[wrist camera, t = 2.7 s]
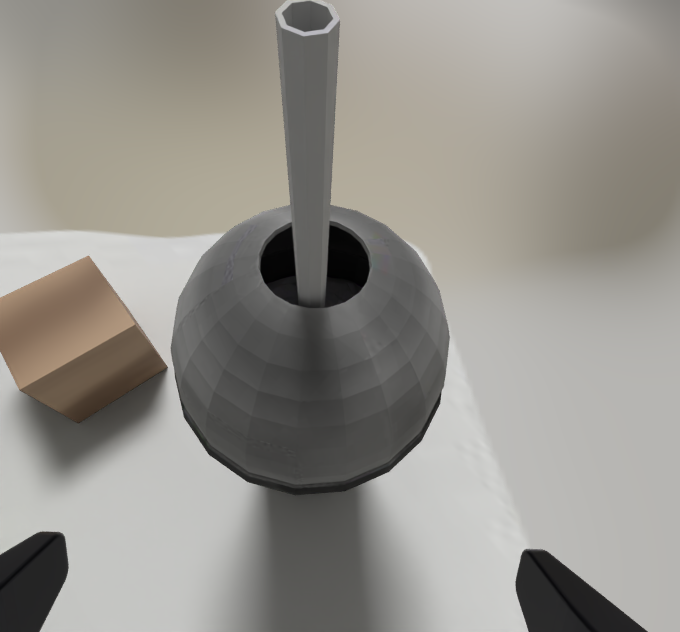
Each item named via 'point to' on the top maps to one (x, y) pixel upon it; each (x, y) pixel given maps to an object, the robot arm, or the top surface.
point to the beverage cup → (310, 312)
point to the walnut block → (74, 341)
